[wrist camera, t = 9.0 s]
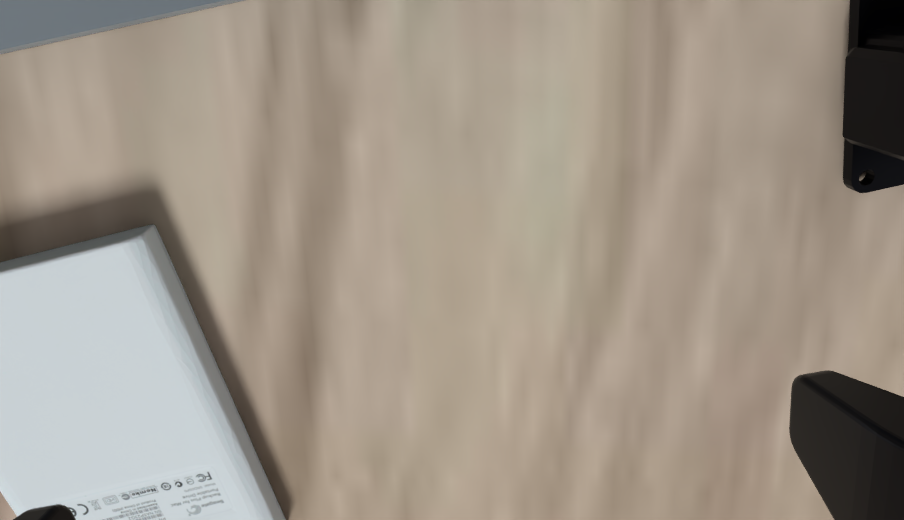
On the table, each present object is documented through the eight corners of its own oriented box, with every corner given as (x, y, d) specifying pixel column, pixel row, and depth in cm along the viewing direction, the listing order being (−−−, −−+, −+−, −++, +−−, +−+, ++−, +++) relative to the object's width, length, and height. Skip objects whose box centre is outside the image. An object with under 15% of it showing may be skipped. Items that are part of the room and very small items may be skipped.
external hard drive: (159, 218, 20) (290, 516, 25) (-96, 282, 20) (84, 566, 25) (140, 236, 18) (283, 549, 23) (-135, 305, 18) (64, 603, 23)
